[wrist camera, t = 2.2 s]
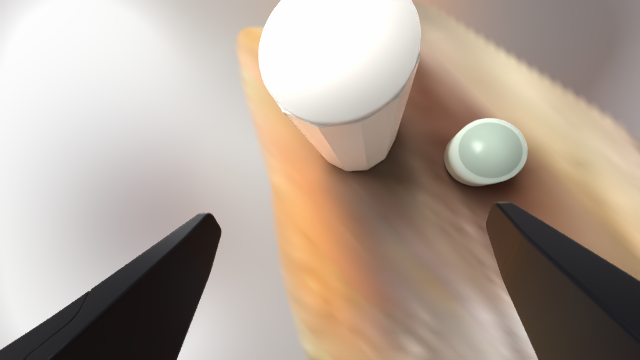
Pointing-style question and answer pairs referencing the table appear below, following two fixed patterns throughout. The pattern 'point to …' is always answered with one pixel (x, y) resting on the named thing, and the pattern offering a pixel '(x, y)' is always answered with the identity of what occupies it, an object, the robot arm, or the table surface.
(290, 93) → the white rounded tall piece
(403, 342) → the table surface
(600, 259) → the robot arm
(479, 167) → the sage bowl
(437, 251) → the table surface
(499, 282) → the table surface
